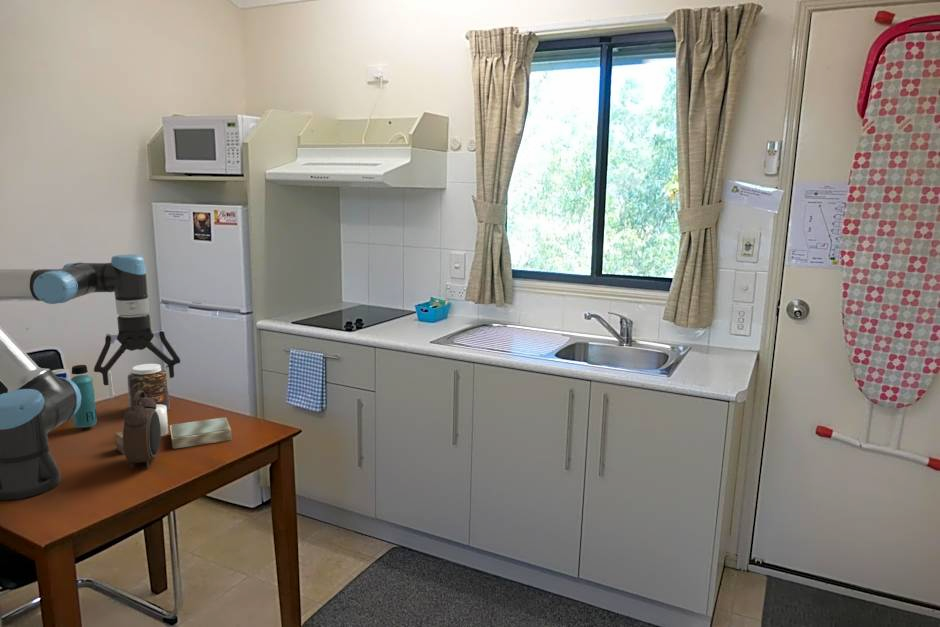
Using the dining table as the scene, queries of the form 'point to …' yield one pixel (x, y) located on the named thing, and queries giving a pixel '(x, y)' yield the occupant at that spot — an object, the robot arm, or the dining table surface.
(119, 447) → the walnut block
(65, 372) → the beverage can
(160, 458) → the dining table surface
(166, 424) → the dome-top cylinder
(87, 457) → the dining table surface
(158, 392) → the jar
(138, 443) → the alarm clock
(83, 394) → the beverage bottle
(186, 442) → the picture frame
